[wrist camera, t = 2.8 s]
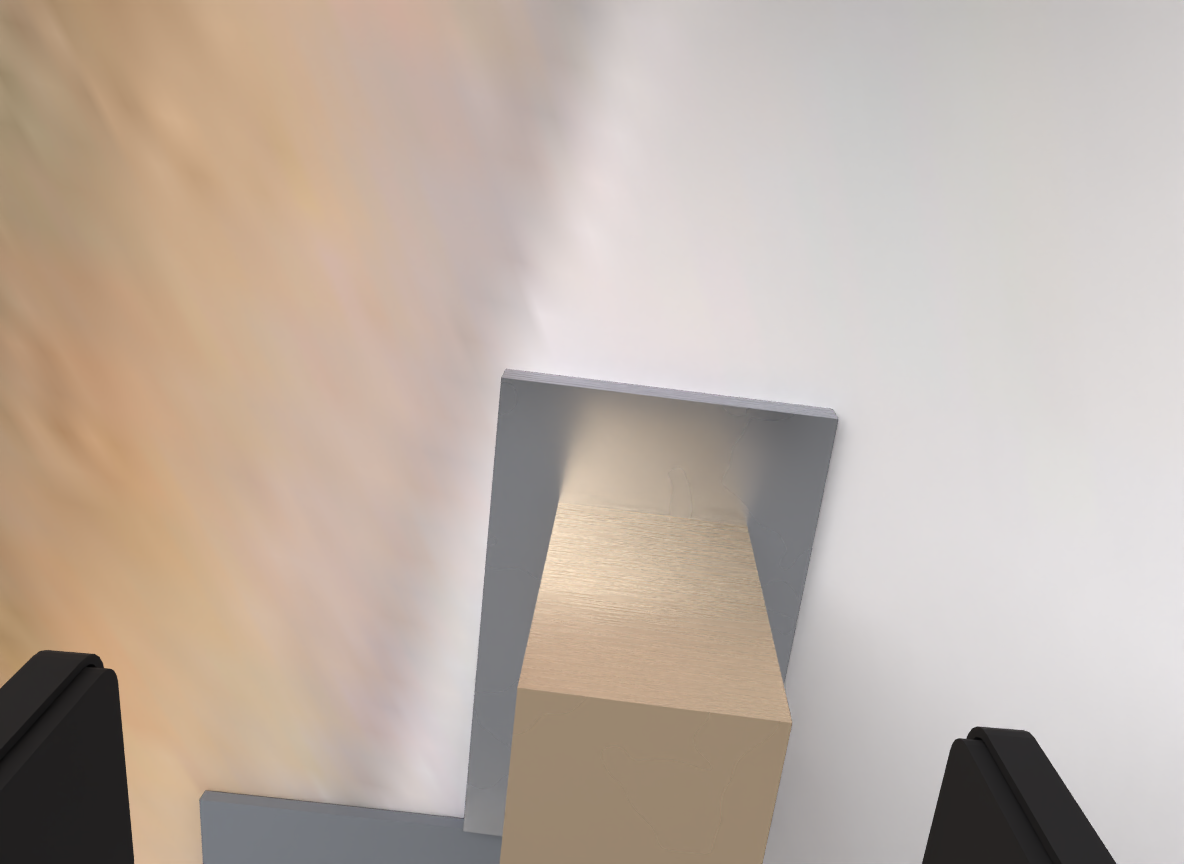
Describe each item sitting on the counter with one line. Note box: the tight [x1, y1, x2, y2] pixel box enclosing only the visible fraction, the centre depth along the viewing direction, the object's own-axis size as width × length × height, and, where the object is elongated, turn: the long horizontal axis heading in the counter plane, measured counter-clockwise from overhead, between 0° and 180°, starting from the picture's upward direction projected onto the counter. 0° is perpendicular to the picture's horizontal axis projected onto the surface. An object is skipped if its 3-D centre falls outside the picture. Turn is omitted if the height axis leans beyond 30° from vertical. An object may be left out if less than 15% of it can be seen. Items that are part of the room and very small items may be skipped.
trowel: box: [463, 369, 838, 864], centre depth 17 cm, size 10×6×7 cm, turn 174°
